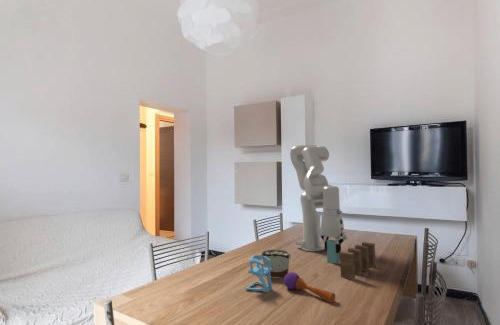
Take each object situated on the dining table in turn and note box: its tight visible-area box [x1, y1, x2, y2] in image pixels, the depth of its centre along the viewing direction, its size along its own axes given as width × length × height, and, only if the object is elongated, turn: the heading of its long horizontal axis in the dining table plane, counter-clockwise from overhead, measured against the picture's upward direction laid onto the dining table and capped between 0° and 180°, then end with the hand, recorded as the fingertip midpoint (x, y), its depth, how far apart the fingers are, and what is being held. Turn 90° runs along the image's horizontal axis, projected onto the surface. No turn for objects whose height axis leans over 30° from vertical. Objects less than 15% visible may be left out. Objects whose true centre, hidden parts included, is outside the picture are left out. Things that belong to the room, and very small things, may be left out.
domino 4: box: [361, 241, 377, 268], centre depth 131 cm, size 2×5×10 cm, turn 44°
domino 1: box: [339, 250, 356, 281], centre depth 118 cm, size 2×5×10 cm, turn 44°
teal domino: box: [326, 239, 340, 265], centre depth 138 cm, size 2×5×10 cm, turn 44°
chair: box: [245, 254, 273, 293], centre depth 109 cm, size 8×8×12 cm
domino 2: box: [347, 247, 363, 276], centre depth 122 cm, size 2×5×10 cm, turn 44°
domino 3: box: [354, 244, 370, 272], centre depth 127 cm, size 2×5×10 cm, turn 44°
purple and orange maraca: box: [283, 271, 336, 304], centre depth 103 cm, size 6×6×20 cm
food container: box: [261, 249, 292, 279], centre depth 122 cm, size 12×6×10 cm, turn 71°
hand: (332, 250), depth 138 cm, fingers closed on teal domino, 4 cm apart
